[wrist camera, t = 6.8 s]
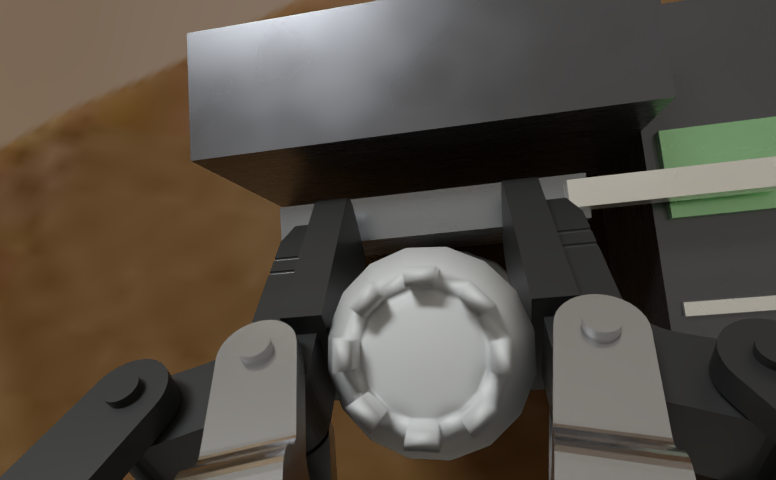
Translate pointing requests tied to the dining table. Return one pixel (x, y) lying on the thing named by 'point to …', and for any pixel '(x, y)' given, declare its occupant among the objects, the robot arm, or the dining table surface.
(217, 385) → the robot arm
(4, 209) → the dining table surface
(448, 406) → the rook chess piece
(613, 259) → the gauge frame
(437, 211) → the gauge plate
